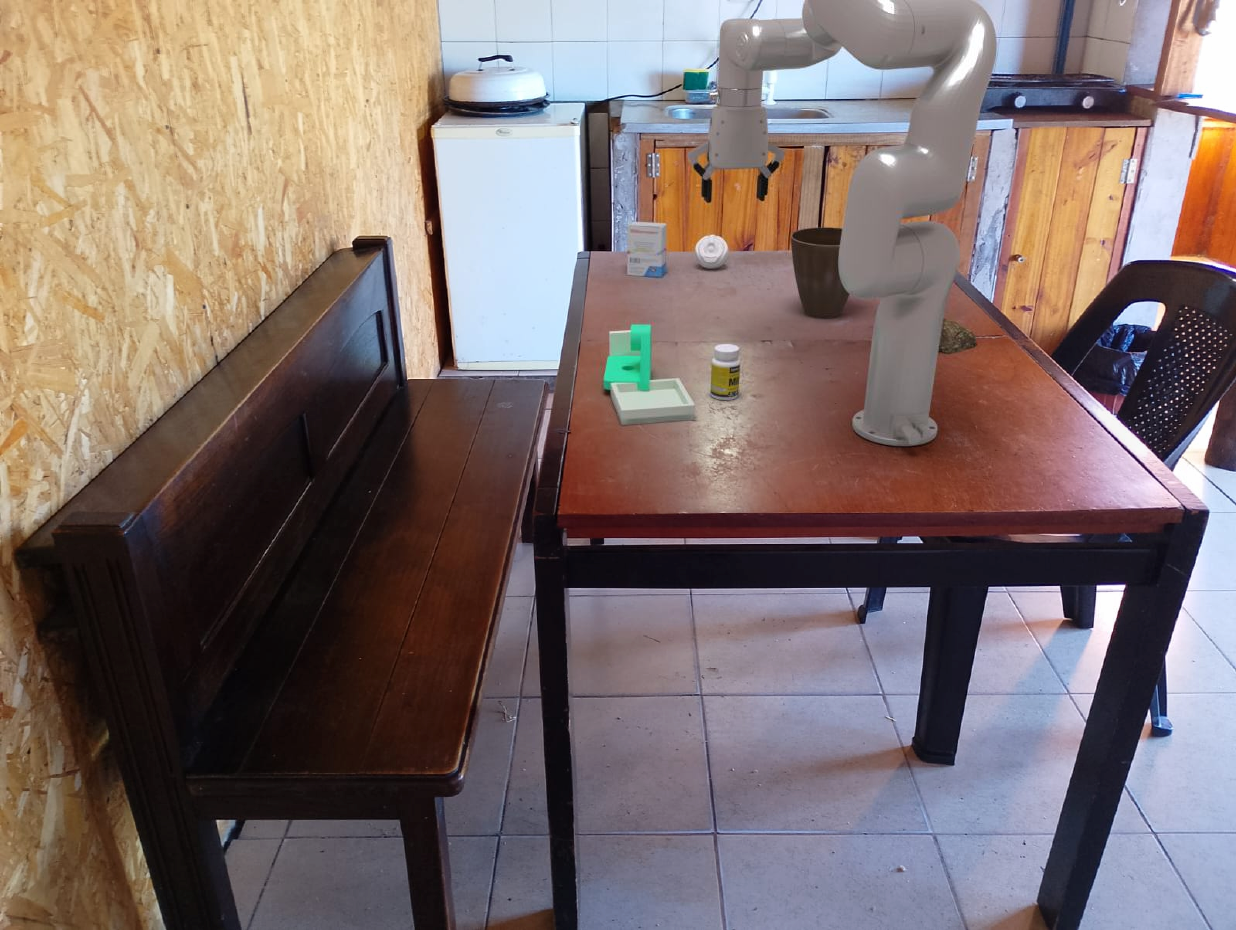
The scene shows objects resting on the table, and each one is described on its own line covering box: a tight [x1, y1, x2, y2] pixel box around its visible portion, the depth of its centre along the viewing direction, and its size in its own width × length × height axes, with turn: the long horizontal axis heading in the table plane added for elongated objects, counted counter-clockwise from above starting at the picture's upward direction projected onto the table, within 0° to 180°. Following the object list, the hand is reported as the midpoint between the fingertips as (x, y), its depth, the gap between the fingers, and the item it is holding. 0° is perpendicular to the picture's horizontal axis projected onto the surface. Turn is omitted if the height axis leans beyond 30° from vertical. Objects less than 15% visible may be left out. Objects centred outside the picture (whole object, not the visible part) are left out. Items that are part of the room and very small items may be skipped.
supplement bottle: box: [709, 343, 741, 401], centre depth 159 cm, size 5×5×8 cm
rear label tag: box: [608, 329, 641, 356], centre depth 171 cm, size 1×6×7 cm, turn 99°
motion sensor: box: [694, 234, 729, 270], centre depth 230 cm, size 8×8×8 cm
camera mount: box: [603, 324, 652, 391], centre depth 164 cm, size 12×8×10 cm, turn 177°
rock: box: [938, 318, 978, 354], centre depth 182 cm, size 13×12×5 cm
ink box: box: [626, 221, 668, 278], centre depth 225 cm, size 9×5×12 cm, turn 72°
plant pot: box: [790, 227, 851, 319], centre depth 196 cm, size 15×15×16 cm
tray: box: [610, 377, 696, 426], centre depth 156 cm, size 12×12×2 cm
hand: (734, 200), depth 172 cm, fingers open, 9 cm apart
